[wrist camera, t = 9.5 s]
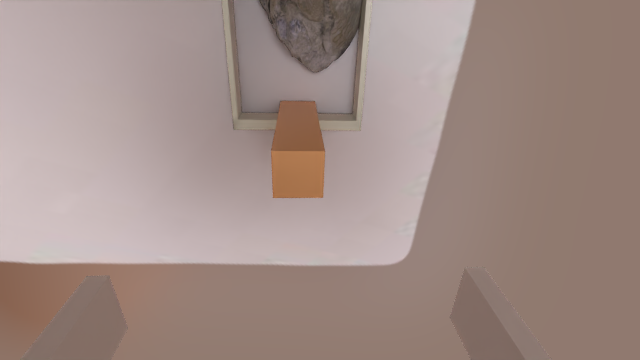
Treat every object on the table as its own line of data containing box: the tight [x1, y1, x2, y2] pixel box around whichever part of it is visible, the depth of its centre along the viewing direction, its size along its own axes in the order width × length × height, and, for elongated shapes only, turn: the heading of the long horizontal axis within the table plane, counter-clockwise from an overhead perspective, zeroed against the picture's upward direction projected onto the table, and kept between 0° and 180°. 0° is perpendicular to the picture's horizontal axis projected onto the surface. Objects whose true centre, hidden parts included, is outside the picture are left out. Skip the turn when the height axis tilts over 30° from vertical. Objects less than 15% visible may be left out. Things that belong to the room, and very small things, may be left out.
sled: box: [221, 0, 372, 198], centre depth 24 cm, size 20×12×14 cm, turn 178°
